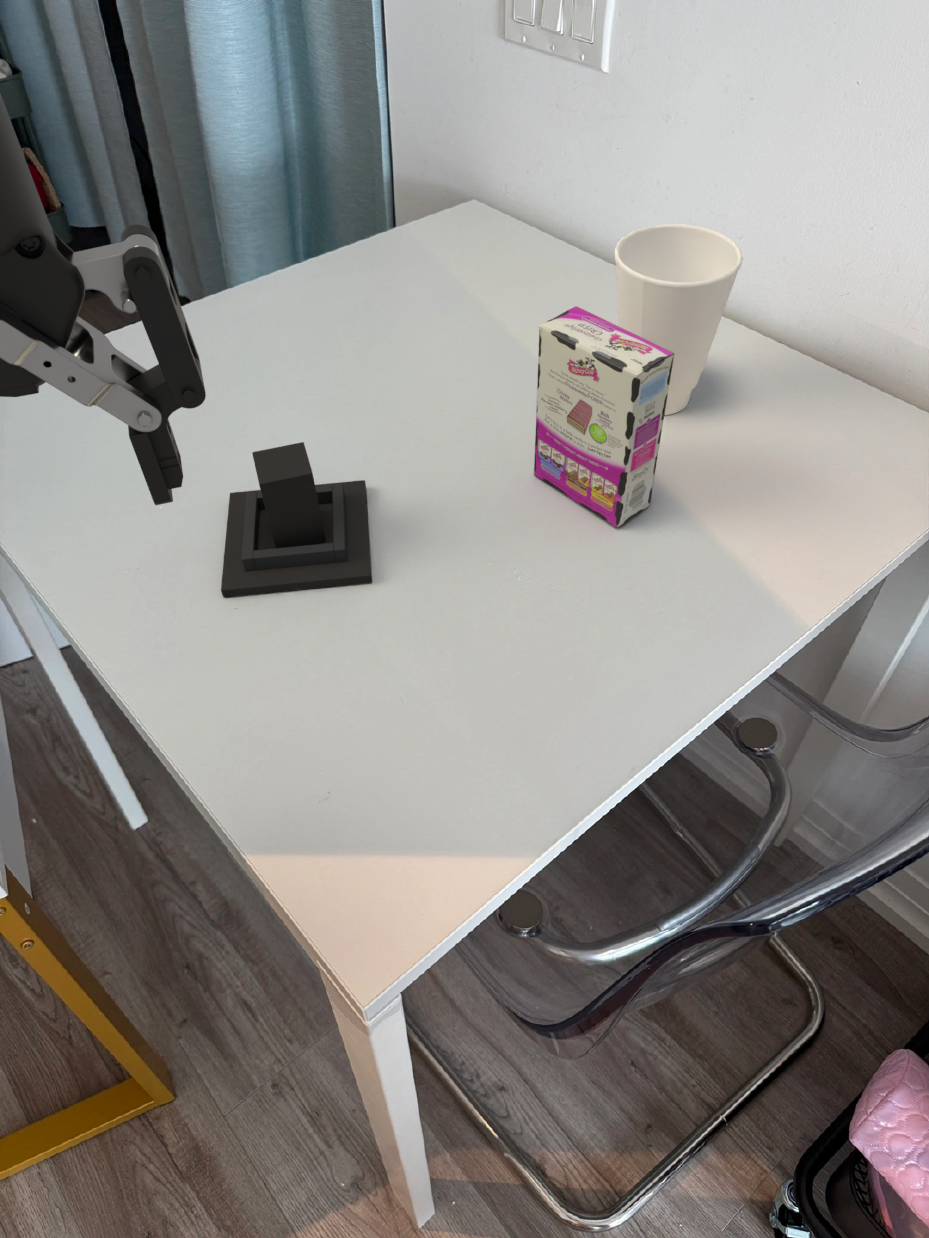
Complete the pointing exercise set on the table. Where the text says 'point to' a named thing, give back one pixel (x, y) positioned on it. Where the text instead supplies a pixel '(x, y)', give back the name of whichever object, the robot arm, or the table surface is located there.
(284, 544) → the black block
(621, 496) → the candy bar box
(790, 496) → the table surface
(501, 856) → the table surface
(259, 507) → the base pad
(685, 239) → the cup
